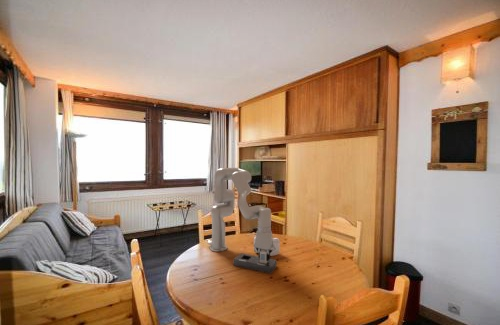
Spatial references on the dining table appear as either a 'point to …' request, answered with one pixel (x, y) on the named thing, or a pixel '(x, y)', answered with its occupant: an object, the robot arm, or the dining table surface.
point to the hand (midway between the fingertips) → (264, 259)
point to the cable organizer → (276, 244)
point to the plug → (263, 256)
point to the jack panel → (254, 263)
